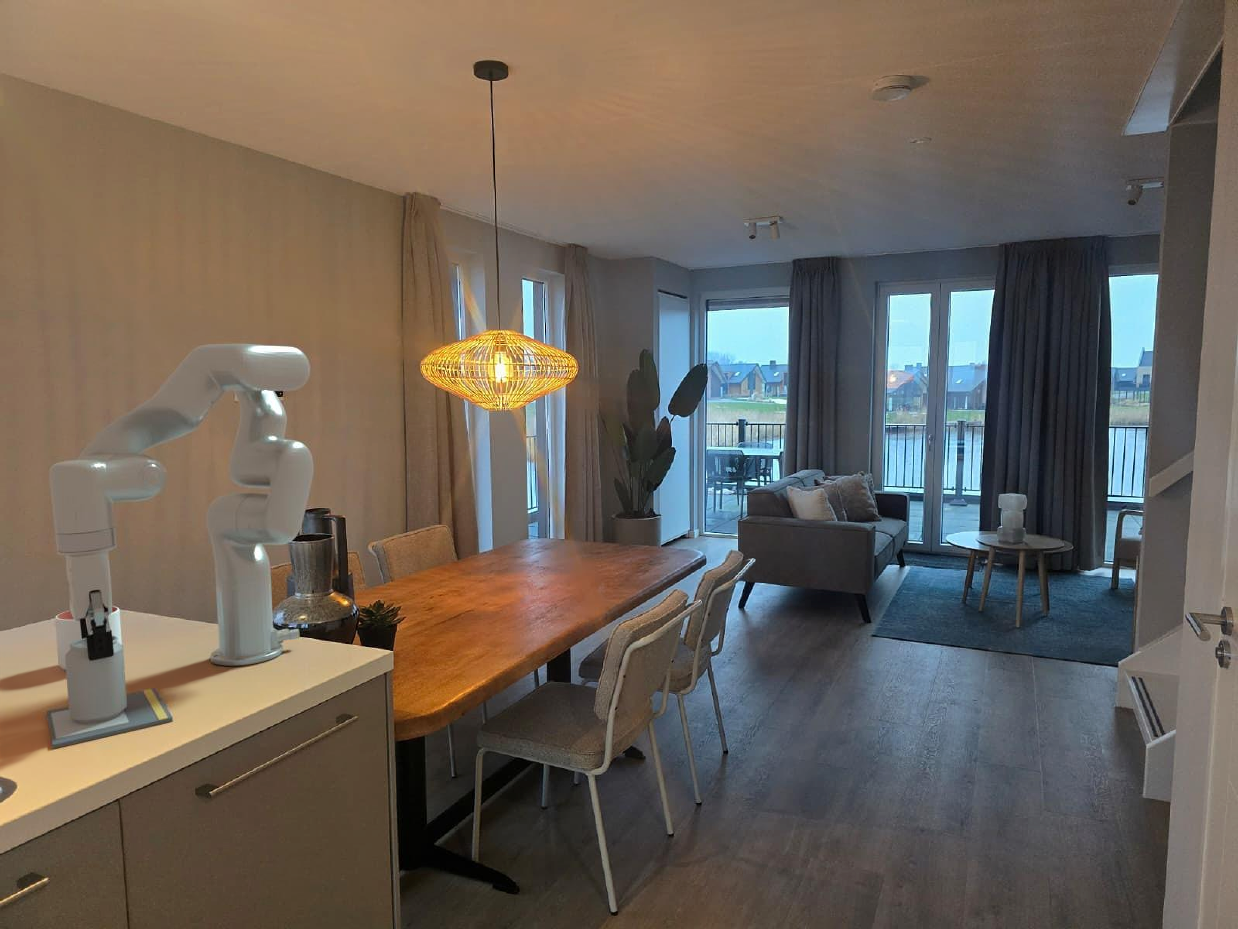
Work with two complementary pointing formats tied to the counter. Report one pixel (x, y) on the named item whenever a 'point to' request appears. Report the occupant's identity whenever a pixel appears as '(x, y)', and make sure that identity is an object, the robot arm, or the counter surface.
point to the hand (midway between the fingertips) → (97, 649)
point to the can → (95, 683)
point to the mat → (138, 714)
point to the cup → (78, 632)
